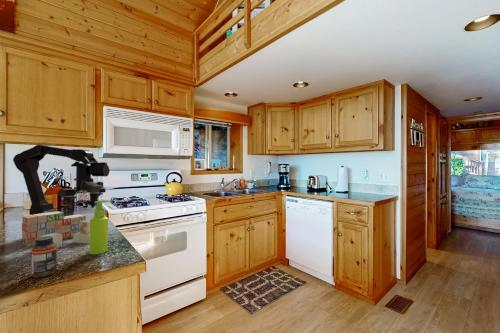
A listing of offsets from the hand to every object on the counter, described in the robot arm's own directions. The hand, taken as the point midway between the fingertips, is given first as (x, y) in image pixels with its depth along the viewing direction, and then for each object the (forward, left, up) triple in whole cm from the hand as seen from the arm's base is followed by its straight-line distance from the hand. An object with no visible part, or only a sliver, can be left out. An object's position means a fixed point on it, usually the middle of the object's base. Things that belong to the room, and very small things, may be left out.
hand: (83, 209), depth 108 cm
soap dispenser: (+24, -10, -13) cm, 29 cm away
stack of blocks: (-8, -6, -13) cm, 17 cm away
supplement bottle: (+26, -30, -13) cm, 42 cm away
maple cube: (+7, -2, -9) cm, 12 cm away
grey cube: (+2, -14, -13) cm, 19 cm away
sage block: (+7, -2, -13) cm, 15 cm away
